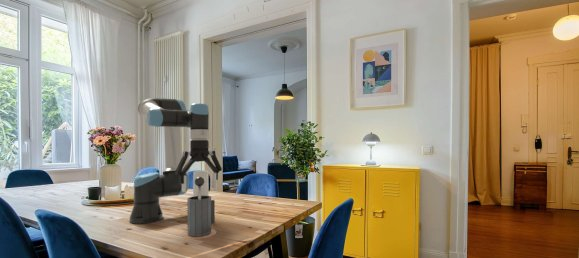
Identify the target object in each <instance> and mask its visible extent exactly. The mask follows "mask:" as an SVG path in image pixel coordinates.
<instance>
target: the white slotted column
mask: <svg viewBox="0 0 579 258" xmlns="http://www.w3.org/2000/svg"><path fill="white" fill-rule="evenodd" d="M192 172H193V173H192V177H193V179H192V186H193V188H192V189H193V190H192V195H193V196H198V186H196V185H195V179H196V178H197V177H202V178H203V179H204V184H203V185H202V186H201V196H209V170H194V171H192ZM193 196H192V197H193Z"/></svg>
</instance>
